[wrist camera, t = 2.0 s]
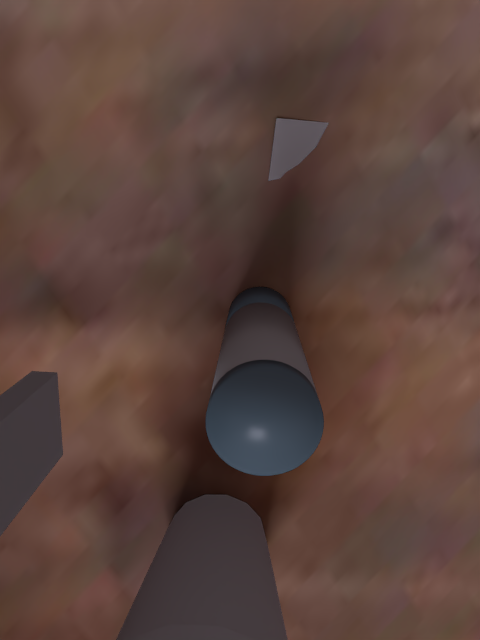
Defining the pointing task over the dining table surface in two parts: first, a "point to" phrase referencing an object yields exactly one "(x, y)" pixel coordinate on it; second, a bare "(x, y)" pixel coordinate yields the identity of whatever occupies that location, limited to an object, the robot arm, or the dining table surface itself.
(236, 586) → the foam cup
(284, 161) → the small grey pieces
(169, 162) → the dining table surface
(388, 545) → the dining table surface
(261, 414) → the cylinder
